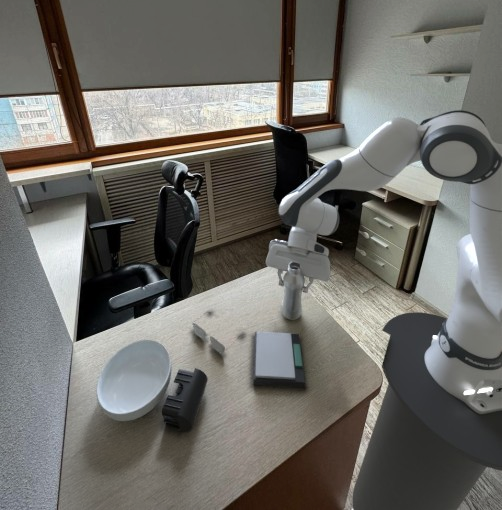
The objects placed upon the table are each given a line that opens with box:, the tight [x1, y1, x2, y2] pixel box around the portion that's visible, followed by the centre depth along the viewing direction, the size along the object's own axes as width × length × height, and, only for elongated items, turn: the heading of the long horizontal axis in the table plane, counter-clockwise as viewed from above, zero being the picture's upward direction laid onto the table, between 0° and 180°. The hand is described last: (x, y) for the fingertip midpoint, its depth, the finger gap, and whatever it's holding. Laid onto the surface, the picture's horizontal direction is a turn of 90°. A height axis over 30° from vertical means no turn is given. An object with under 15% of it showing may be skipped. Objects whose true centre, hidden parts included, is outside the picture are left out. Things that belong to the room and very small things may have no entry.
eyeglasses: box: [191, 311, 243, 355], centre depth 81 cm, size 14×8×4 cm, turn 54°
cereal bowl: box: [95, 339, 173, 422], centre depth 66 cm, size 17×17×7 cm
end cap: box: [161, 367, 209, 433], centre depth 63 cm, size 10×7×7 cm
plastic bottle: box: [280, 262, 306, 321], centre depth 84 cm, size 6×7×20 cm
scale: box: [252, 331, 306, 389], centre depth 74 cm, size 13×13×3 cm
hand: (293, 289), depth 83 cm, fingers closed on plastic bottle, 6 cm apart
